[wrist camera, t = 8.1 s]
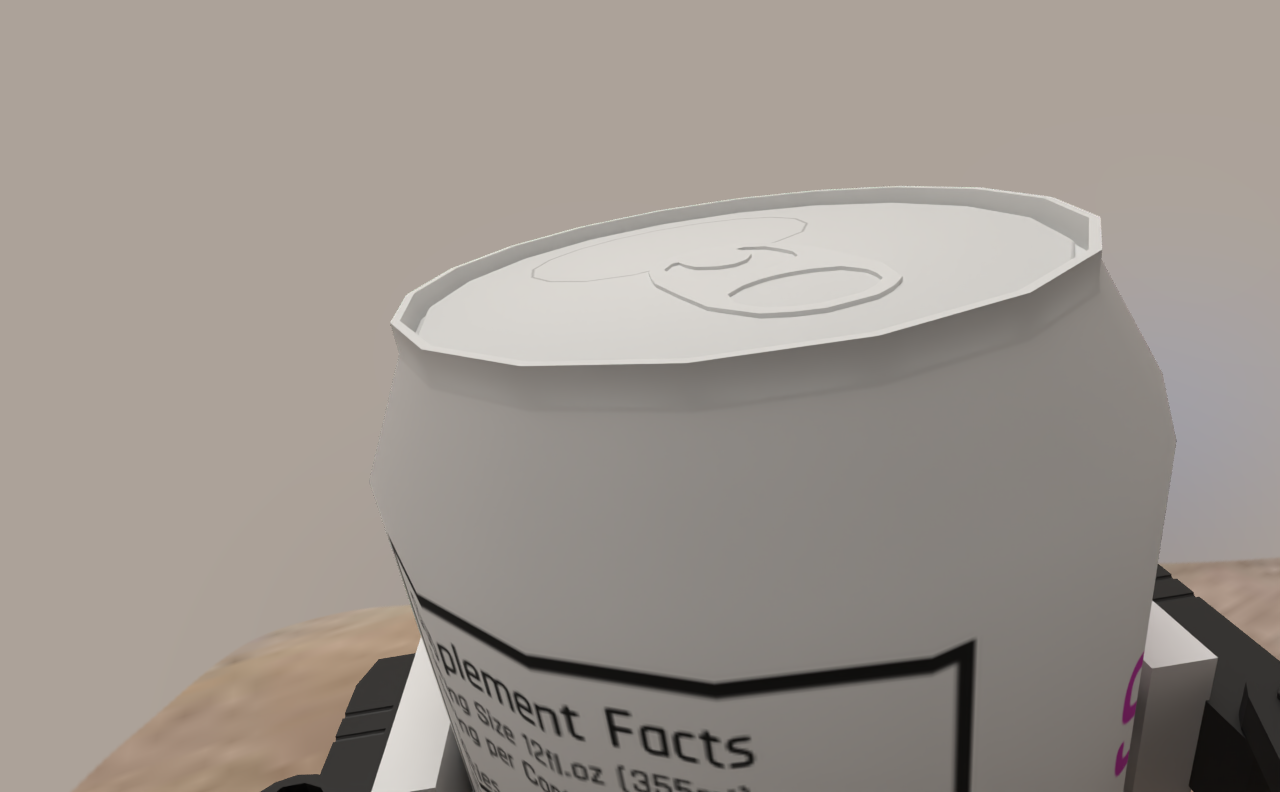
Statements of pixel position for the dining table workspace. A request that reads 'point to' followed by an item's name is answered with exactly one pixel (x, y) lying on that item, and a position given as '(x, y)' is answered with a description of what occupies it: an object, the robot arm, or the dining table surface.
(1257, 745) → the robot arm
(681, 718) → the supplement can
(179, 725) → the dining table surface
